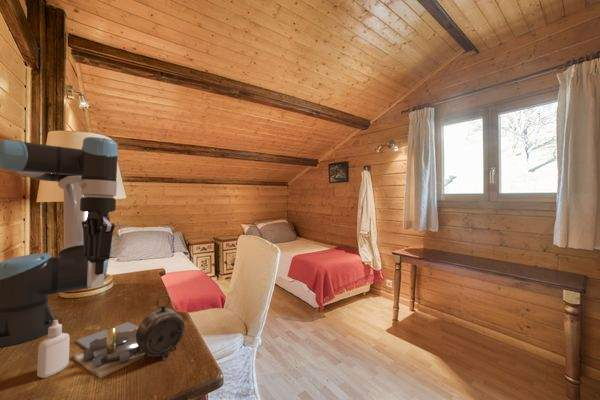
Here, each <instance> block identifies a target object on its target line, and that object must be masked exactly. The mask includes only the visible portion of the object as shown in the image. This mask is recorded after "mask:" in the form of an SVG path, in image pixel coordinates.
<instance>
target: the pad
mask: <svg viewBox="0 0 600 400" xmlns="http://www.w3.org/2000/svg"><path fill="white" fill-rule="evenodd" d="M114 327H116V332H117V331H120V333H121V332H128V331H133V330H134V329H138V328H139V326H138V325H135V324H133V323H131V322H130V321H127V322H124V323H121V324H118V325H115V326H114ZM105 337H107V329H103V330H100V331H98V332H96V333H93V334H90V335H87V336H84V337H81V338H78V339H76V340H75V343H76V344H78V345H79V346H80V347H82V348H83V349H84V350H86V349H89V348H90V343H91V342H92V341H94V340H95V339H103V338H105Z"/></svg>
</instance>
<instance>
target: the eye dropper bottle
mask: <svg viewBox="0 0 600 400" xmlns="http://www.w3.org/2000/svg"><path fill="white" fill-rule="evenodd" d="M70 339H71V338H70V334H69V333H66V332H63V324H62V323H59V319H55V320H54V321H53V324H52V326H50V327H49V328H48V333H47V337H46V338H44V339H43V340H42V341H41V342H40V343H39V345H38V349H37V351H38V352H37V369H36V371H37V372H36V375H37V377H38V378H41V379H46V378H48V377H51V376H53V375H56V374H57V373H59V372H61V371H63V370H64V369H65V368H67V367H68V366H69V364H70V341H71V340H70Z"/></svg>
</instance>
